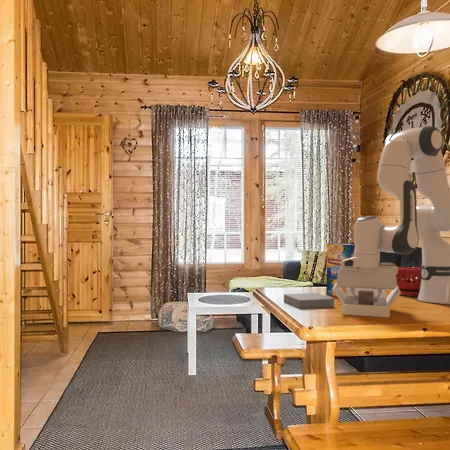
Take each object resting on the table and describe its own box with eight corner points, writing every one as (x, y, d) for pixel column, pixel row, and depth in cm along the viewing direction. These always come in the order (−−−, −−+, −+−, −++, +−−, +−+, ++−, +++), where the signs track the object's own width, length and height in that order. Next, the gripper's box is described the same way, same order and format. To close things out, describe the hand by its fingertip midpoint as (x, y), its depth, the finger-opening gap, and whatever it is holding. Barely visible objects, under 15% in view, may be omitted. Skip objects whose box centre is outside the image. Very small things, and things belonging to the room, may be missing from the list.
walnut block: (358, 307, 172) (359, 288, 172) (373, 308, 171) (373, 289, 171) (358, 314, 161) (358, 293, 161) (373, 314, 160) (373, 294, 159)
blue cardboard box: (350, 297, 195) (351, 244, 195) (326, 294, 202) (326, 243, 202) (357, 295, 201) (357, 244, 200) (333, 292, 208) (333, 243, 207)
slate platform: (316, 300, 187) (316, 293, 187) (333, 306, 174) (334, 298, 174) (283, 301, 183) (283, 294, 183) (299, 308, 170) (299, 300, 170)
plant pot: (433, 296, 200) (434, 268, 200) (409, 298, 195) (409, 269, 195) (411, 292, 212) (411, 265, 212) (387, 293, 208) (388, 266, 207)
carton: (336, 303, 181) (336, 281, 181) (396, 307, 174) (397, 284, 174) (332, 313, 160) (332, 288, 160) (400, 318, 154) (401, 292, 154)
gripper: (397, 262, 166) (396, 301, 166) (337, 260, 172) (337, 297, 172) (398, 263, 160) (397, 304, 160) (336, 261, 166) (336, 300, 166)
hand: (366, 300), depth 166 cm, fingers open, 5 cm apart
